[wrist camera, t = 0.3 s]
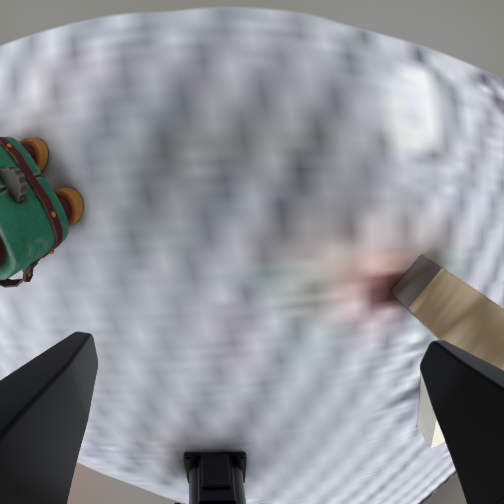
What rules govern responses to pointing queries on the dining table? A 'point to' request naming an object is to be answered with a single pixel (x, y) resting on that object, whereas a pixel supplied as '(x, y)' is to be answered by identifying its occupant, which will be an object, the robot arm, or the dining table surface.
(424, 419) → the square ring frame
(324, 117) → the dining table surface
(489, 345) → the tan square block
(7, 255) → the green boxy toy
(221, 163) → the dining table surface
